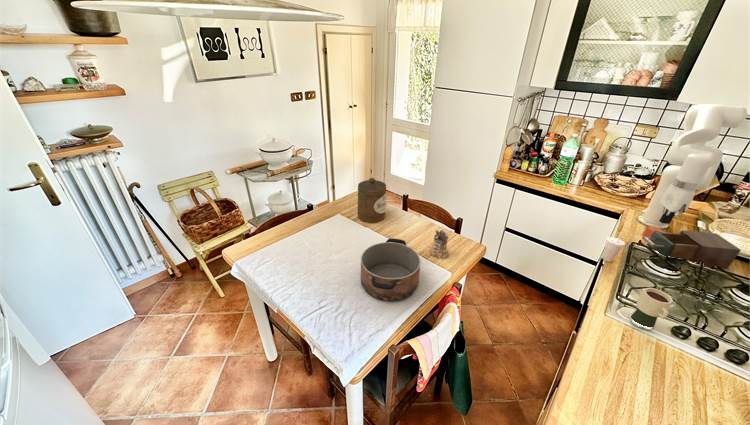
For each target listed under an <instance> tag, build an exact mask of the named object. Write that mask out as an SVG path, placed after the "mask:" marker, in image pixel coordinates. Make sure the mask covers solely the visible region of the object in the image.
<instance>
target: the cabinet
mask: <svg viewBox="0 0 750 425" xmlns="http://www.w3.org/2000/svg"><path fill="white" fill-rule="evenodd" d="M678 234H684V235H685V236H687V237H688V238H689V239H691V240H692V241H693V242H695V243H696V244H697V245H699V246H700V248H699V250H698V251H697V253H696V254H695V256H694V257H693V259H692V260H691V261H692V262H699V261H700V260H701V259H702V260H703V263H704V266H703V267H706V266H708V267H707V268H714V267H713V265H714V264H717V265H718V267H719V268H718V269H726V270H728V269H729V267H731V264H732V263H733V262H734V260H735V259H736V258H737V256H738V255H739V254H740V252H741V251H742V249H740V248H739V247H737V246H736V245H734V244H733V243H731V242H730V241H728V240H727V239H725V238H724V237H722V236H721V235H719V234H718V233H715V232H705V231H704V232H703V231H693V230H683V229H682V230H680V232H679V233H678ZM689 261H690V260H689Z"/></svg>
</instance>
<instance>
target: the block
mask: <svg viewBox="0 0 750 425" xmlns="http://www.w3.org/2000/svg"><path fill="white" fill-rule="evenodd" d="M654 230H657V231H659V232H660V233H662V232H664V231H663V229H660V228H658V227H650V226H647V225H646V227H645V229H644V231H643V232H642V237H643V236H646V237H649V238H651V236H652V234H653V232H654Z"/></svg>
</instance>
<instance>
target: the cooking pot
mask: <svg viewBox="0 0 750 425" xmlns="http://www.w3.org/2000/svg"><path fill="white" fill-rule="evenodd" d="M420 272H421V257H420V255H419V254H418V252H417V251H416V250H415V249H413V248H412V247H410V246H408V245H407V242H406V241H405V240H404V239H401V238H400V239H399V238H393V237H392V238H388V239H386V241H385V242H378V243H375V244H373V245H370V246H369V247H367V248H366V249H365V250H364V251H363V252H362V253H361V256H360V283H361V286H362V288H363V290H364V291H365V292H366V293H367V294H368V295H369V296H371V297H373V298H375V299H377V300H380V301H386V302H396V301H402V300H405V299H407V298H409V297H411V296H412V295H413V294H414V293H415V292H416V291H417V289H418V286H419V280H420Z"/></svg>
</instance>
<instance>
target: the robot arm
mask: <svg viewBox="0 0 750 425" xmlns="http://www.w3.org/2000/svg"><path fill="white" fill-rule="evenodd" d="M747 116H748V110H747V108H746V107H744V106H739V105H727V104H696V105H692V106H690V107H689V108H688V110H687V111H686V113H685V116H684V119H683V134H682V135H679V137H678V138H676V139H675V140H674V142H673V143H672V144H671V147H670V150H669V152H668V154H667V158H666V160H667V162H668V164H670V165H668V166H666V167H665V168H664V169H663V171H662V173H661V175H660V179H659V183H658V185H657V187H656V190H655V192H654V193H653V195H652V197H651V200H650V201H649V203H648V205H647V207H646V208H645V209H642V210H641V212H642V215H639V216H638V218H637V220H638V222H640V223H641V224H643V225H645V226H646V227H647V226H648V227H658V228H659V229H661V230H665V229H668V227H669V224H671V222H672V221H673V219H674V217H682V215H683V214H685V213H686V212H687V211H688V210H689V208H690V206H691V204H692V202H693V199H694V197H695V195H696V191H705V190H706V189H708V188H709V187H710V185H711V183H712V181H713V179H714V177H715V175H716V172H717V170H718V168H719V166H720V164H721V162H722V159H723V157H724V152H723V150H722V149H720V148H717V147H713V146H706V143H707V142H710V141H714V140H715V139H717V138H718V137H719V136H720V134H721V131H722V128H731V129H736V128H739V127H741V126H742V125H743V124H744V122H745V121H746V119H747Z"/></svg>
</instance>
